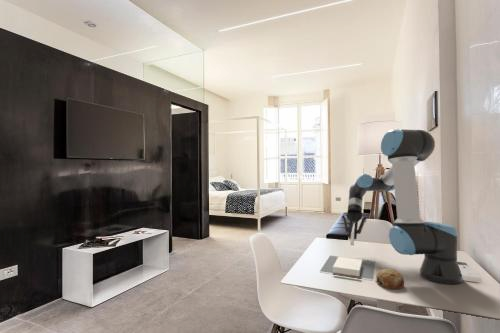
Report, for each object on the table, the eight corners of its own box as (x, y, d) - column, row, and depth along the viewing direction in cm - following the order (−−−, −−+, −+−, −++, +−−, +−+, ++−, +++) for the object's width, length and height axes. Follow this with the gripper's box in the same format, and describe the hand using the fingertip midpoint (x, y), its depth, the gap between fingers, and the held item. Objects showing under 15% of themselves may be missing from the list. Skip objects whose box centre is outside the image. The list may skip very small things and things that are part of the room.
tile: (338, 256, 140) (332, 266, 125) (362, 259, 135) (359, 270, 121) (338, 262, 140) (332, 273, 125) (362, 265, 135) (359, 277, 121)
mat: (330, 256, 151) (330, 255, 151) (375, 262, 142) (375, 261, 142) (319, 272, 128) (319, 271, 128) (373, 280, 118) (373, 279, 118)
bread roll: (374, 289, 118) (367, 273, 117) (391, 276, 121) (385, 260, 120) (394, 300, 109) (387, 282, 108) (411, 285, 112) (405, 267, 111)
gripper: (367, 212, 160) (366, 249, 145) (343, 211, 166) (339, 246, 151) (367, 204, 156) (365, 241, 140) (342, 202, 161) (338, 238, 146)
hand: (352, 243), depth 145 cm, fingers closed
